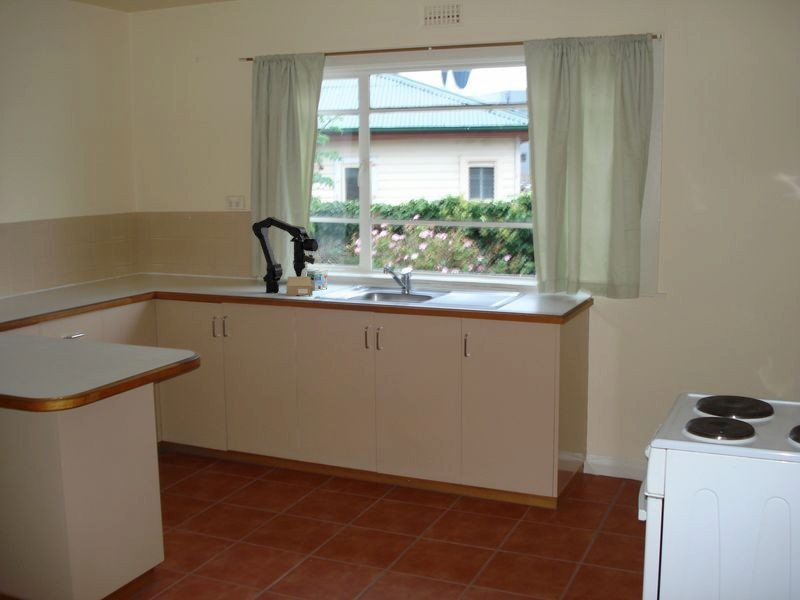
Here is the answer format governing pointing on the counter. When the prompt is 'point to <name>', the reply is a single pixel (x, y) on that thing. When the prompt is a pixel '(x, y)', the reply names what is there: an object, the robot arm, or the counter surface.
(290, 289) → the carton
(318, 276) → the light bulb box
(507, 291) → the counter surface
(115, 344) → the counter surface
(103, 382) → the counter surface
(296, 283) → the flap near
